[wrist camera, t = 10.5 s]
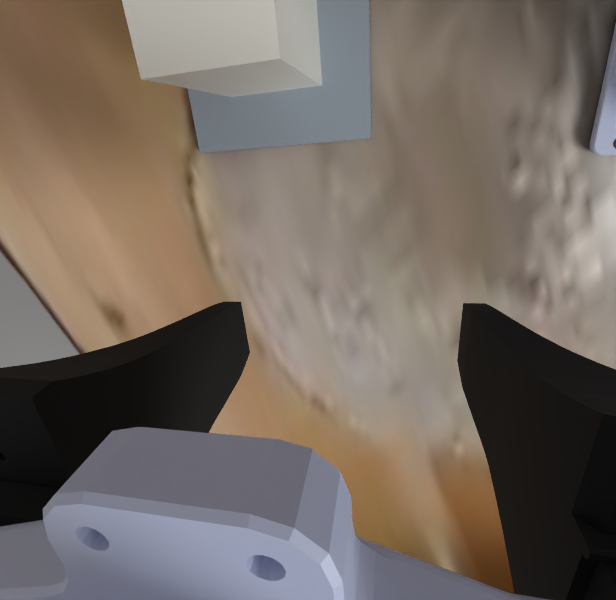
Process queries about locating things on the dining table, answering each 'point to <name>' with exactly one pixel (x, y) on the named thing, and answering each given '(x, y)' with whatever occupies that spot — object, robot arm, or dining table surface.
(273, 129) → the slate mat
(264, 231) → the dining table surface
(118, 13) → the dining table surface
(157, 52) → the cream block
